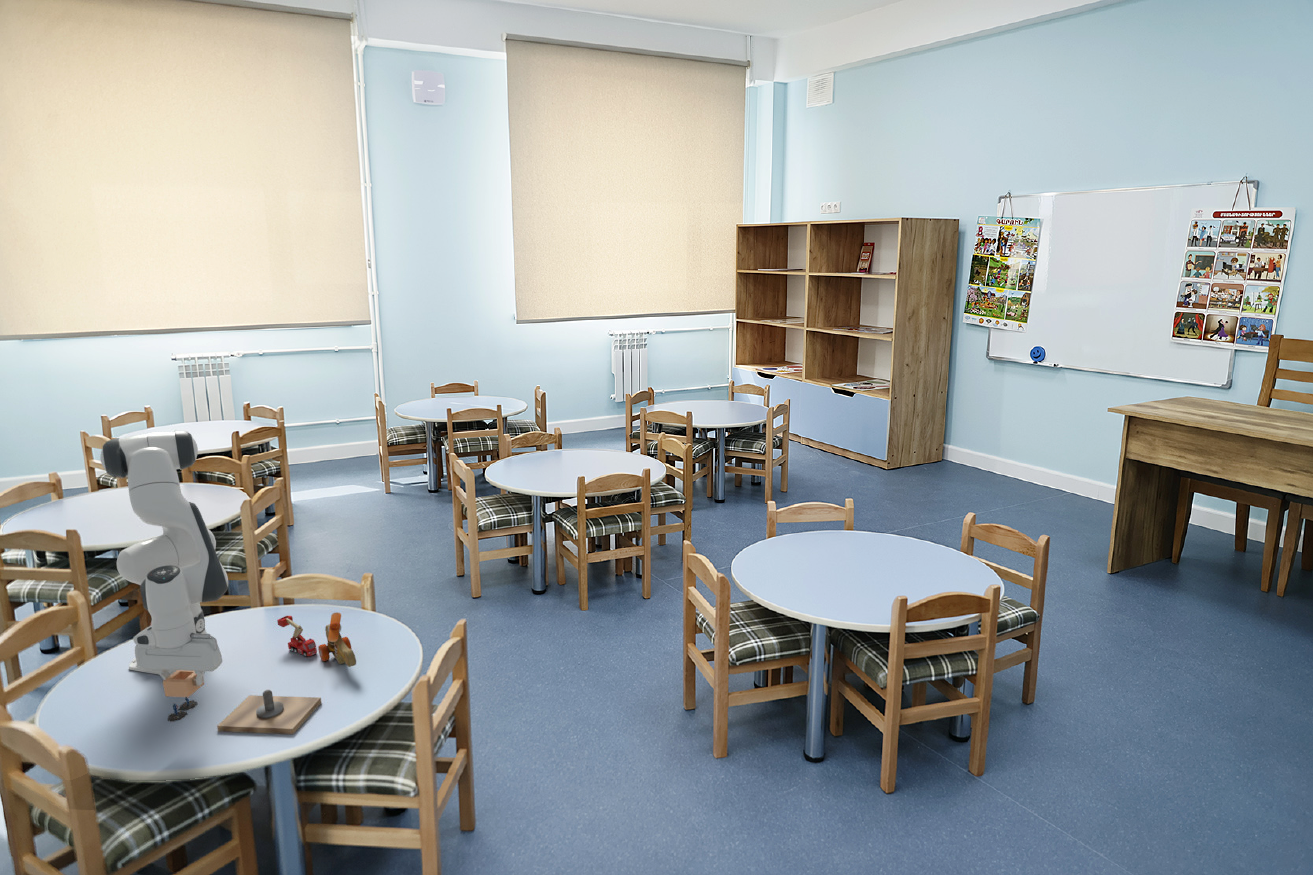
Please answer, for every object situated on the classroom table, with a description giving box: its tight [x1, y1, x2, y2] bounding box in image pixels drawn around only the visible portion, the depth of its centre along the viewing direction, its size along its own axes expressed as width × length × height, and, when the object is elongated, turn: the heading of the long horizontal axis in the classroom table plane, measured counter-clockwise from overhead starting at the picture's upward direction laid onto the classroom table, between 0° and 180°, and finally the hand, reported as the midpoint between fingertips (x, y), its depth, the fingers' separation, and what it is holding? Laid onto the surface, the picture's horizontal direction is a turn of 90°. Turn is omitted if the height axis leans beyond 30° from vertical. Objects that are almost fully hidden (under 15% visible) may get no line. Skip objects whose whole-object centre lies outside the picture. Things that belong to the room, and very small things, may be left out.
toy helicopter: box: [317, 612, 357, 668], centre depth 234 cm, size 8×21×14 cm, turn 38°
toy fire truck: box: [276, 615, 318, 657], centre depth 244 cm, size 3×14×10 cm, turn 58°
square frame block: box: [162, 670, 205, 698], centre depth 200 cm, size 6×6×4 cm
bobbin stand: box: [216, 689, 322, 735], centre depth 210 cm, size 20×14×8 cm
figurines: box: [167, 696, 198, 723], centre depth 214 cm, size 10×5×4 cm, turn 177°
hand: (184, 684), depth 201 cm, fingers closed on square frame block, 6 cm apart
